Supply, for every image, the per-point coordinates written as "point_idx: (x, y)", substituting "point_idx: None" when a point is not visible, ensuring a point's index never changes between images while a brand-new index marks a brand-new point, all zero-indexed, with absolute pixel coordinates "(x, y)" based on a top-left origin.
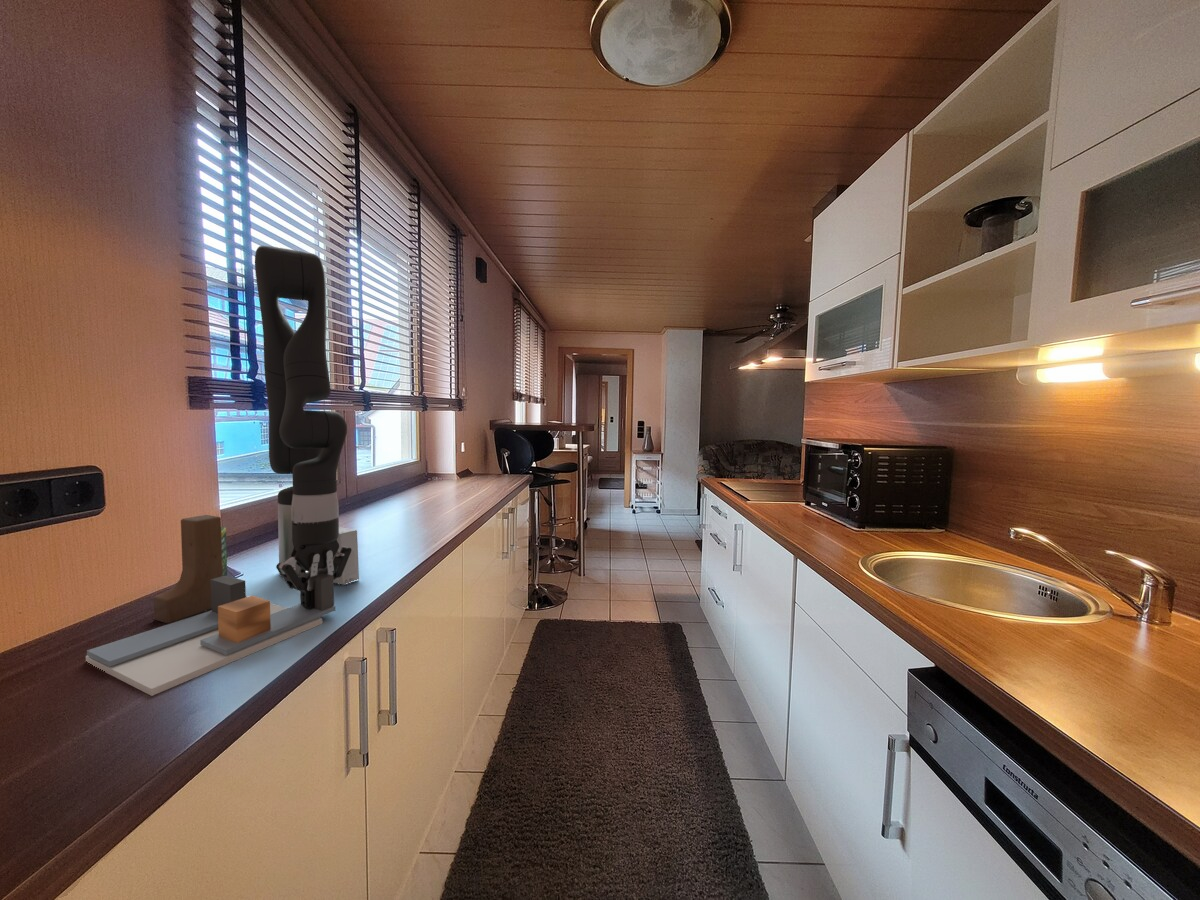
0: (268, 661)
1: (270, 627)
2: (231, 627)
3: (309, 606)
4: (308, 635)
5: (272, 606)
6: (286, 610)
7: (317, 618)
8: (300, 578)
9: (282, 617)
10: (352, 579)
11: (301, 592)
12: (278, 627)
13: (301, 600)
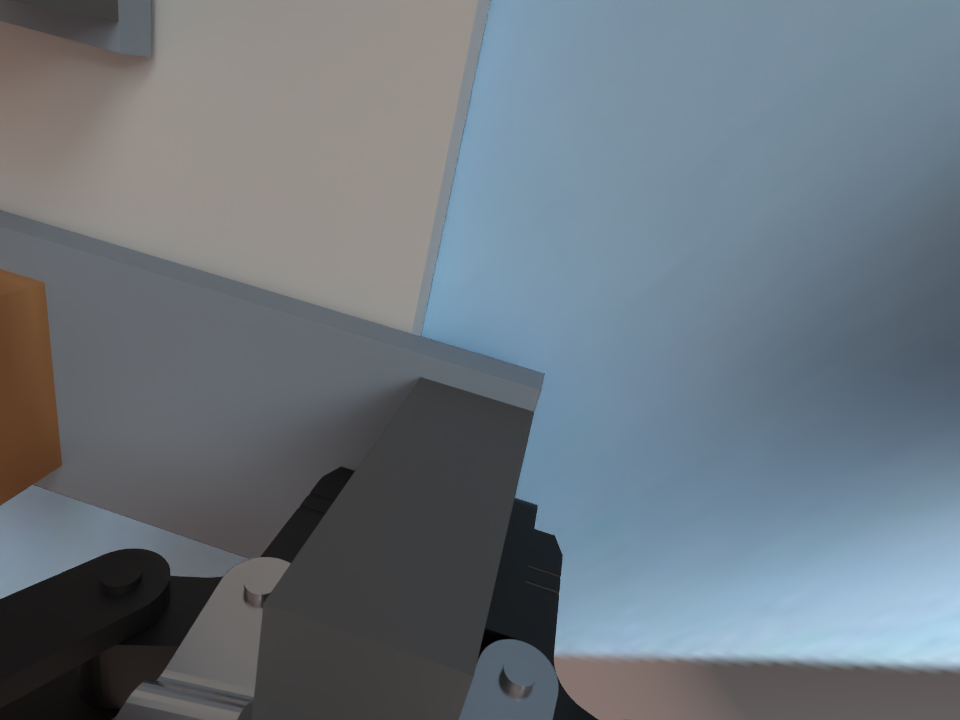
0: (21, 542)
1: (48, 472)
2: None
3: None
4: (245, 560)
5: (423, 29)
6: (291, 350)
7: None
8: (170, 673)
9: (198, 411)
10: None
11: (266, 554)
12: (101, 486)
13: (307, 499)
